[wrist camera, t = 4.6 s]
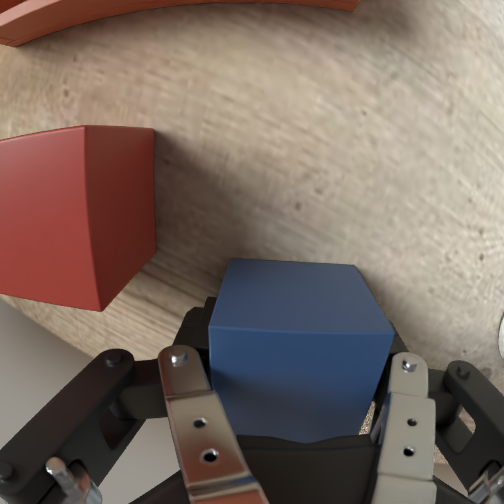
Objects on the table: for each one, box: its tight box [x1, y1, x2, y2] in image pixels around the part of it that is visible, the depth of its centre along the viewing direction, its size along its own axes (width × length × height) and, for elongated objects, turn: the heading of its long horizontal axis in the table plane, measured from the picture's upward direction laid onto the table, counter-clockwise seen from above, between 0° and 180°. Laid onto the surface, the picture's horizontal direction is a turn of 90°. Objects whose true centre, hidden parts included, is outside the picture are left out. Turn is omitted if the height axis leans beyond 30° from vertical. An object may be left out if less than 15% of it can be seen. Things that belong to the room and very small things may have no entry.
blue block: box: [208, 258, 395, 443], centre depth 11 cm, size 5×5×5 cm
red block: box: [0, 125, 156, 312], centre depth 10 cm, size 5×5×5 cm
